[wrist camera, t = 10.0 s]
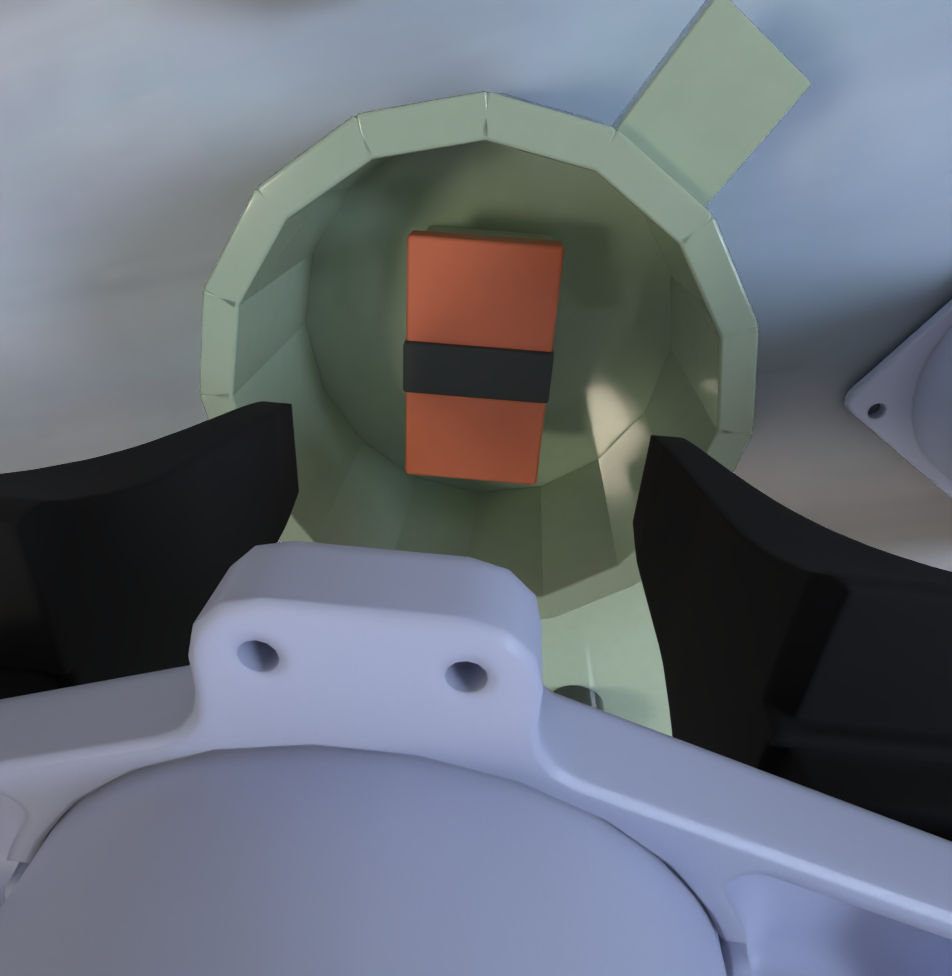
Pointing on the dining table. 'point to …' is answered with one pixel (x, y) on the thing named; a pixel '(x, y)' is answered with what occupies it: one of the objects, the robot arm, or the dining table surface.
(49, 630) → the robot arm
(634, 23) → the dining table surface
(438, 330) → the sushi
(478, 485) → the pot
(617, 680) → the pot lid
